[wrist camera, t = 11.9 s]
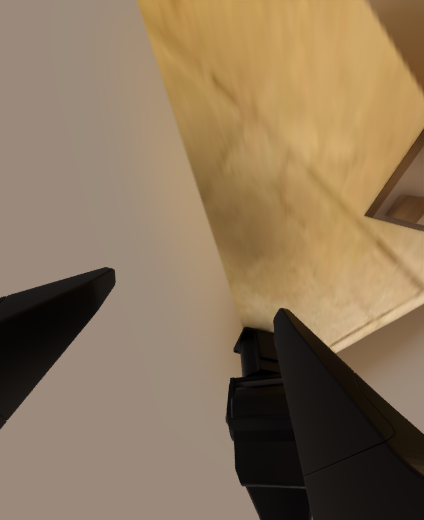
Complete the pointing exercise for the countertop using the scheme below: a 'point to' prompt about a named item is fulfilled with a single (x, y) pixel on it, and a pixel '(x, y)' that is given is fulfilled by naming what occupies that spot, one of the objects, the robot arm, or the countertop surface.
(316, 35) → the countertop surface
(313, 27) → the countertop surface
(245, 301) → the countertop surface
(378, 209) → the cradle
